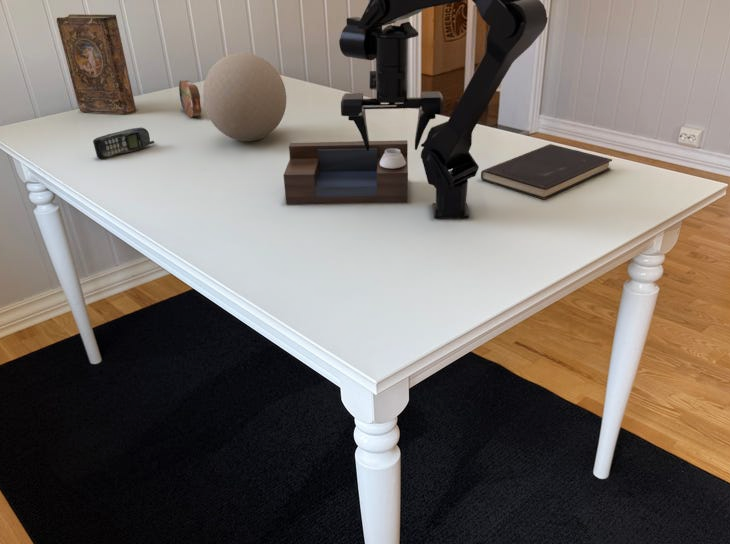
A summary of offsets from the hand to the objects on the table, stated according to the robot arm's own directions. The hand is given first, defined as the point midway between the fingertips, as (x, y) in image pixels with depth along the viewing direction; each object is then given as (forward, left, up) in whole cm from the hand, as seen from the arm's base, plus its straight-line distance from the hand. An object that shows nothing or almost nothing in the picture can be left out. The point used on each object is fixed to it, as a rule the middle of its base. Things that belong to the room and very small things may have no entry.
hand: (391, 149), depth 131 cm
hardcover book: (+10, -32, -9) cm, 35 cm away
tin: (+64, +57, -9) cm, 86 cm away
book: (+69, +83, -9) cm, 108 cm away
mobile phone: (+31, +65, -9) cm, 73 cm away
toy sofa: (+2, +9, -9) cm, 13 cm away
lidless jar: (0, 0, -3) cm, 3 cm away
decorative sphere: (+39, +36, -9) cm, 54 cm away
